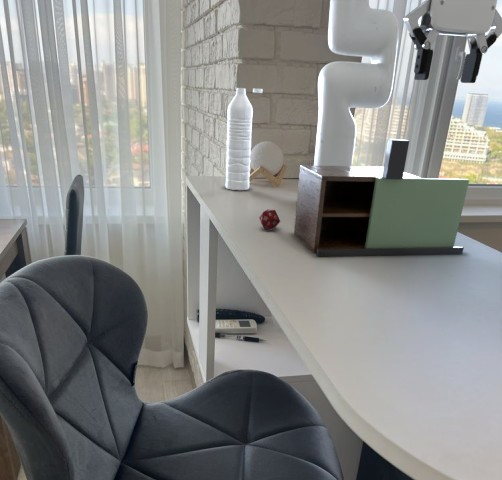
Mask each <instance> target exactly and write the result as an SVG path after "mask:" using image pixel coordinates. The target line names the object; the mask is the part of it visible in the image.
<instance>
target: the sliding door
mask: <svg viewBox="0 0 502 480" xmlns="http://www.w3.org/2000/svg"><path fill="white" fill-rule="evenodd" d="M386 145H387V146H386V151H385V156H384V163H383V167H384V168H383V175H382V178H381V177H376V179H375V186H374V192H373V199H372V205H371V211H370V218H369V224H368V231H367V237H366V244H365V248H423V247H455V244H456V243H455V242H456V239H457V234H458V230H459V226H460V221H461V218H462V213H463V208H464V204H465V200H466V196H467V191H468V188H469V183H470V179H469V178H438V177H437V178H434V177H433V178H432V177H431V178H430V177H429V178H425V177H420V178H403V174H404V172H405V169H406V163H407V156H408V151H409V145H410V140H409V139H395V138H394V139H393V138H388V139H387V143H386Z"/></svg>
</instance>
